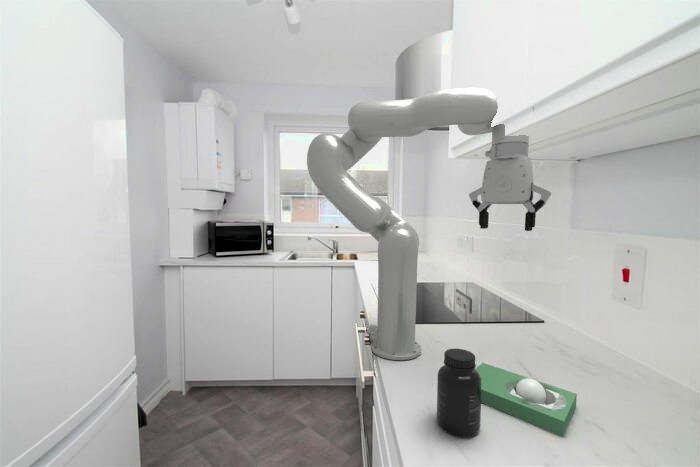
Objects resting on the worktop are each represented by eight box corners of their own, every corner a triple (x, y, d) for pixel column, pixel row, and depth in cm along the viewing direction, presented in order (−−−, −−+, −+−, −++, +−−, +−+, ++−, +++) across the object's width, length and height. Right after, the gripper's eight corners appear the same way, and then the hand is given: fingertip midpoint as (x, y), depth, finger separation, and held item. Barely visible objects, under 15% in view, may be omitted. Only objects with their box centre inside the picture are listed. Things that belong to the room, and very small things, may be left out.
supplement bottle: (469, 412, 57) (472, 345, 56) (487, 439, 50) (491, 364, 50) (431, 412, 57) (433, 345, 56) (443, 439, 50) (446, 363, 49)
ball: (537, 384, 56) (545, 413, 56) (544, 375, 60) (552, 402, 59) (509, 383, 60) (516, 410, 59) (517, 374, 63) (524, 400, 62)
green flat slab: (459, 393, 63) (460, 381, 63) (482, 373, 71) (482, 362, 71) (563, 436, 51) (564, 421, 51) (575, 407, 59) (576, 393, 59)
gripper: (465, 155, 77) (461, 228, 78) (549, 146, 65) (543, 232, 66) (477, 159, 82) (474, 227, 83) (557, 152, 70) (552, 231, 71)
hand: (505, 229), depth 75 cm, fingers open, 9 cm apart
